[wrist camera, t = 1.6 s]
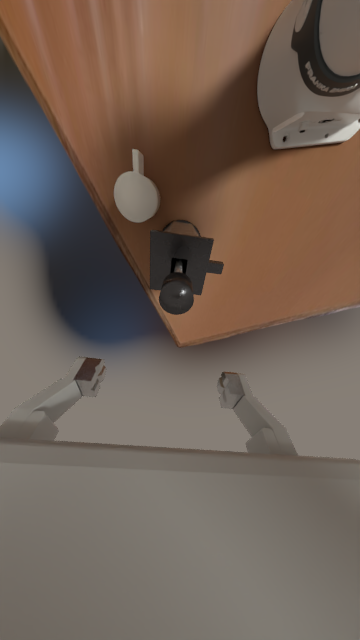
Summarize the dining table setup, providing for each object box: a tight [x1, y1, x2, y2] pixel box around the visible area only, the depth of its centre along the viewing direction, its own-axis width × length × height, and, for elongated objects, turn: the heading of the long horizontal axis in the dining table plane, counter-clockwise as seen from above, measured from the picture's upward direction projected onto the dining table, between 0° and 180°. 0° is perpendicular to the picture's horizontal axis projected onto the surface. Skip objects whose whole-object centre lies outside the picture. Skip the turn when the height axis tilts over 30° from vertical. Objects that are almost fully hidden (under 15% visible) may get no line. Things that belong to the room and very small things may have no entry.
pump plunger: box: [159, 258, 194, 315], centre depth 29 cm, size 4×4×21 cm
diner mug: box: [114, 149, 160, 223], centre depth 34 cm, size 8×11×9 cm
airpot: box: [150, 220, 224, 295], centre depth 38 cm, size 15×12×18 cm
